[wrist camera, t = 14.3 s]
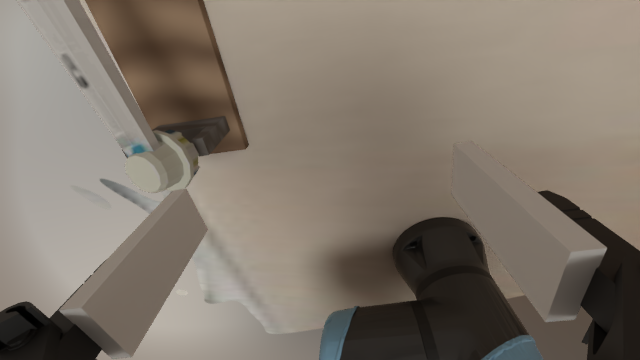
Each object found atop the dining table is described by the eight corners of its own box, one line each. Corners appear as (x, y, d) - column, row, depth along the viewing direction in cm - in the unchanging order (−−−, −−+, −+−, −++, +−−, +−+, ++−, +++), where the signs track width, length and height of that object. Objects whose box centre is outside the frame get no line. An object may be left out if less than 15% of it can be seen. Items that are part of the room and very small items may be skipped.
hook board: (248, 144, 38) (229, 176, 31) (171, 155, 40) (134, 188, 32) (169, -106, 25) (100, -161, 17) (56, -80, 26) (-56, -120, 19)
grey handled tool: (-56, -187, 14) (178, 203, 24) (62, -114, 20) (212, 173, 30) (-117, -140, 15) (131, 216, 25) (13, -84, 21) (172, 185, 31)
